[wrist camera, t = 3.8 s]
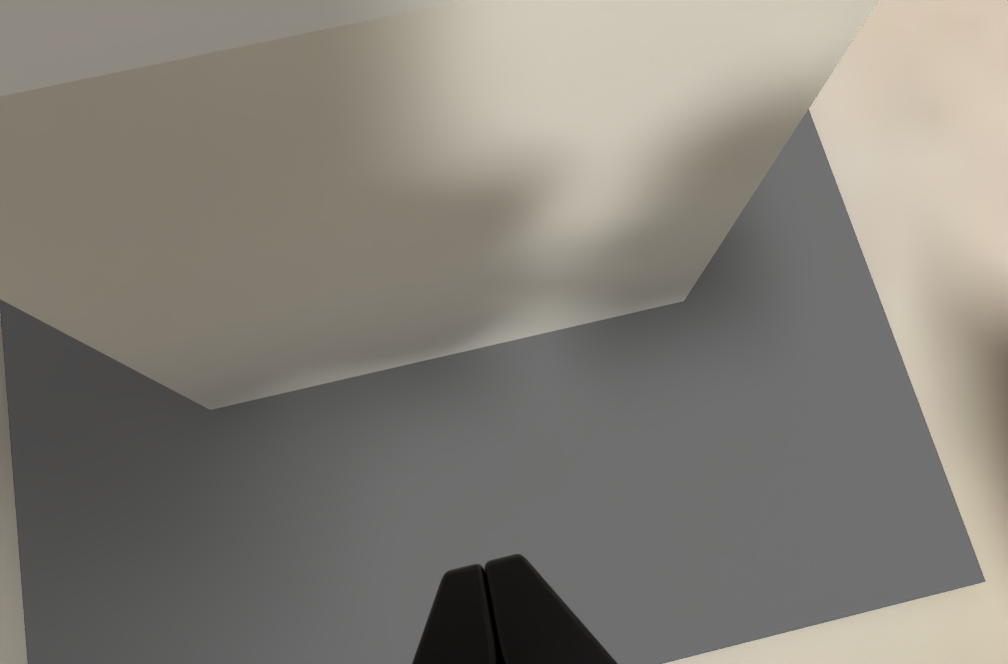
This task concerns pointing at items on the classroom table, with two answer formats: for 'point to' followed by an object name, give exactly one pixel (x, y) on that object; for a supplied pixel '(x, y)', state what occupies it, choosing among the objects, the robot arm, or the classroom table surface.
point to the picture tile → (380, 170)
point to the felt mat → (503, 474)
